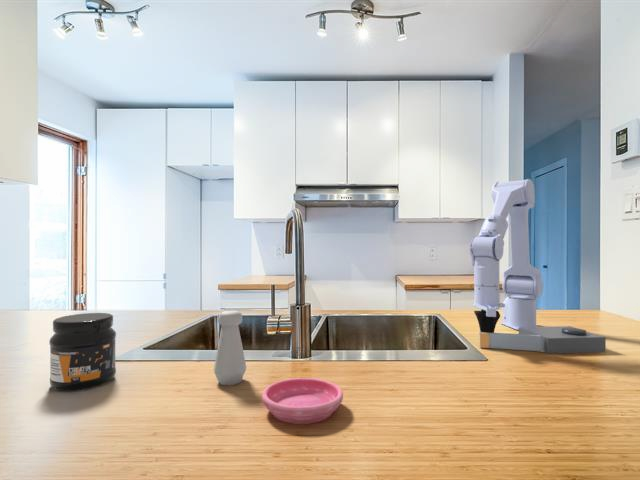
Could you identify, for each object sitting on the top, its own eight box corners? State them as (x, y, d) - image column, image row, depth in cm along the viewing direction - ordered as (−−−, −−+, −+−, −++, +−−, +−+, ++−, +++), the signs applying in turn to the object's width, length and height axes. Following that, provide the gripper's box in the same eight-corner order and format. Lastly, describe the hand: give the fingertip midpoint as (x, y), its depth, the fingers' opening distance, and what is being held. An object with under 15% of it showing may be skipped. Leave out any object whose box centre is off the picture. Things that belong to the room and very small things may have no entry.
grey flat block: (518, 340, 101) (518, 324, 101) (570, 339, 102) (570, 323, 102) (548, 353, 89) (548, 334, 89) (605, 352, 90) (605, 333, 90)
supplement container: (38, 396, 65) (38, 325, 65) (62, 375, 76) (62, 313, 76) (108, 389, 68) (108, 321, 68) (121, 370, 78) (121, 310, 78)
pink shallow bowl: (299, 389, 69) (299, 371, 69) (358, 408, 61) (358, 388, 61) (244, 413, 59) (244, 393, 59) (306, 440, 51) (306, 416, 51)
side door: (480, 347, 93) (480, 333, 93) (479, 346, 95) (479, 331, 95) (541, 351, 90) (541, 336, 90) (539, 350, 91) (539, 335, 91)
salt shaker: (242, 387, 69) (242, 314, 69) (210, 387, 69) (210, 314, 69) (249, 376, 75) (248, 308, 75) (219, 376, 75) (219, 308, 75)
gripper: (510, 289, 87) (510, 350, 87) (499, 282, 101) (499, 334, 101) (476, 288, 89) (477, 347, 89) (470, 281, 103) (470, 333, 103)
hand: (486, 340), depth 95 cm, fingers closed
